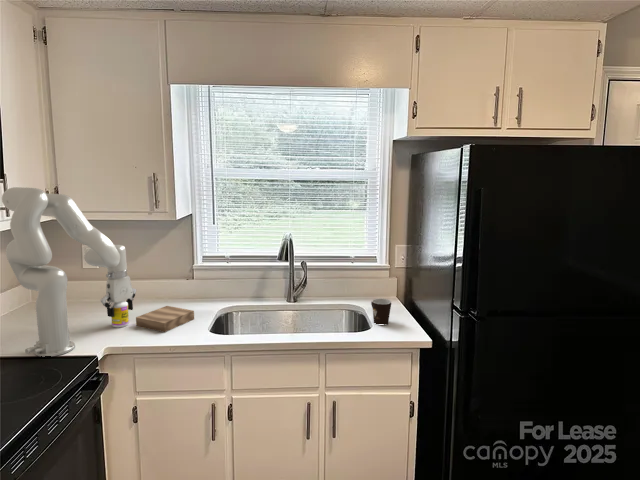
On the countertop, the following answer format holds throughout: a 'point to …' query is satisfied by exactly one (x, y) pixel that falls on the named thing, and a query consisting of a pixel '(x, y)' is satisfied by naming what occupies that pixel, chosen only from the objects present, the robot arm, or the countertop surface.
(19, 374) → the countertop surface
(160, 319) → the walnut base
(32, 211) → the robot arm
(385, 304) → the coffee mug
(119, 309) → the supplement bottle
